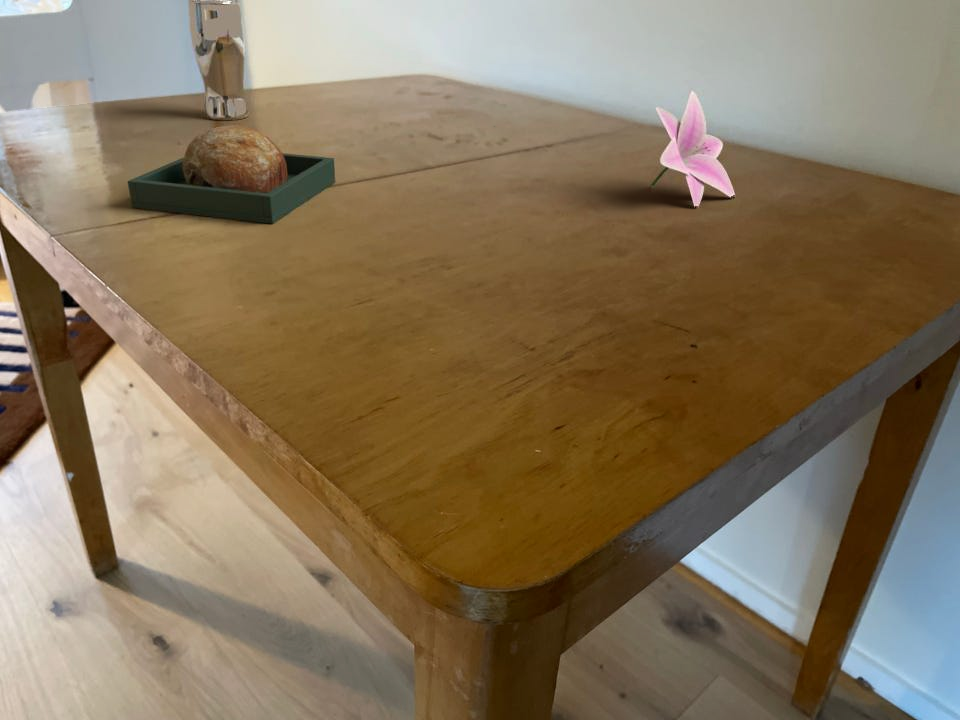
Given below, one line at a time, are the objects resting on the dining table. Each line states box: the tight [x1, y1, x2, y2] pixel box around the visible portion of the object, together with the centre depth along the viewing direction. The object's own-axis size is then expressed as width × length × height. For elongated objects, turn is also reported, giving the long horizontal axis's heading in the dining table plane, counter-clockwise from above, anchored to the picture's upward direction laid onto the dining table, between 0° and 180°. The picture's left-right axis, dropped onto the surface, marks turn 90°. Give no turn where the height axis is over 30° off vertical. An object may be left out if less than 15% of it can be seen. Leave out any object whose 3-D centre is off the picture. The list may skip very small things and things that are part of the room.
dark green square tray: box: [127, 152, 336, 225], centre depth 78 cm, size 15×15×3 cm
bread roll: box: [182, 124, 287, 193], centre depth 77 cm, size 10×10×8 cm
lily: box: [650, 90, 736, 207], centre depth 82 cm, size 12×12×10 cm
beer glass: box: [187, 0, 250, 121], centre depth 108 cm, size 7×7×15 cm
